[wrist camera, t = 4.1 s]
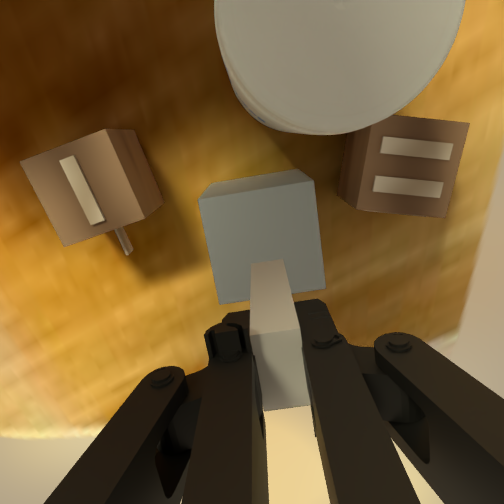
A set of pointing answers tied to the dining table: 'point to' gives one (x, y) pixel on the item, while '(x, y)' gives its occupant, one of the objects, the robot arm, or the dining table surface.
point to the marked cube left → (95, 185)
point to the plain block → (262, 231)
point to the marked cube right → (402, 165)
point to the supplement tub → (332, 58)
